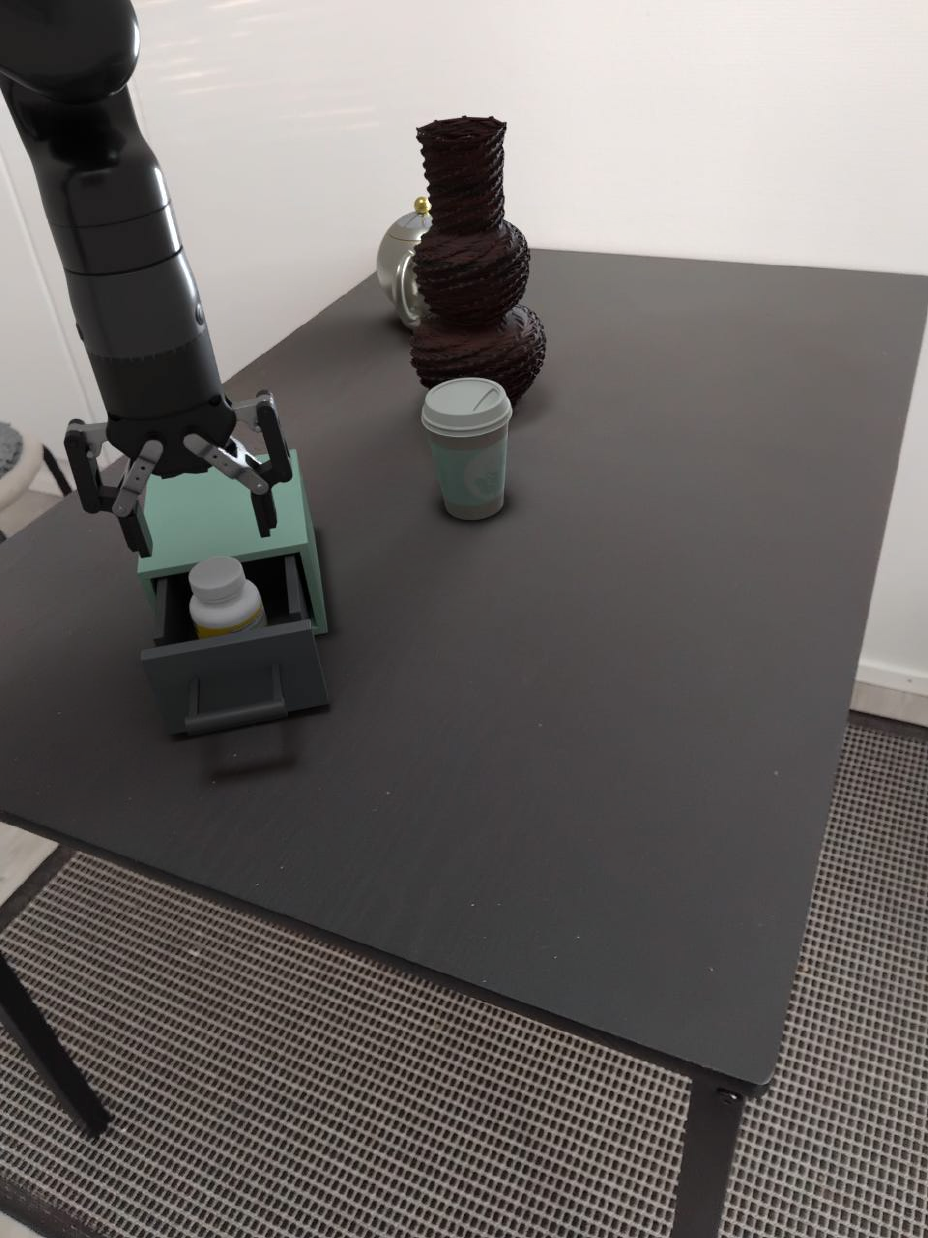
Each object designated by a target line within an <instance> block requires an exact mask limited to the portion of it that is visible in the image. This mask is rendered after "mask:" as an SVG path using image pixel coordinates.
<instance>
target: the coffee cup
mask: <svg viewBox="0 0 928 1238" xmlns="http://www.w3.org/2000/svg"><path fill="white" fill-rule="evenodd" d="M512 415H513V412H512V408H511V404H510V401H509V399H508V398H507V396H506V393H505V390H504V389H503V387H502V386H501V385H499V384H498V383H496V382H494V381H491V380H487V379H482V378H460V379H454V380H450V381H446V382H444V383H441V384H439V385H437V386H435V387H434V388H432V389H431V390H430V391H429V390H428V392H427V393H426V396H425V398H424V404H423V406H422V408H421V418H420V419H421V423H422V424H423V426H424V428H426V432H427V436H428V440H429V445H430V448H431V453H432V457H433V462H434V466H435V470H436V474H437V478H438V482H439V485H440V490H441V495H442V498H443V503H444V507H445V510H446V511H447V513H448V514H449V515H451V516H452V517H454V518H456V519H459V520H464V521H479V520H484V519H487V518H490V517H492V516H494V515H496V514H497V513H499V512H500V510H501V509H502V507H503V505H504V498H505V497H504V495H505V482H506V465H507V453H508V452H507V451H508V450H507V449H508V434H509V421H510V420H511V418H512Z"/></svg>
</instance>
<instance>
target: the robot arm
mask: <svg viewBox="0 0 928 1238" xmlns="http://www.w3.org/2000/svg"><path fill="white" fill-rule="evenodd" d="M140 53H141V31H140V25H139V21H138V16H137V13H136V10H135V8H134V5H133V3H132V0H0V92H1V94H2V97H3V100H4V103H5V104H6V107H7V109H8V111H9V114H10V116H11V118H12V121H13V123H14V125H15V128H16V131H17V133H18V135H19V137H20V139H21V143H22V144H23V146H24V149H25V151H26V152H27V155H28V158H29V160H30V163H31V166H32V170H33V172H34V176H35V179H36V180H35V181H36V184H37V188H38V191H39V196H40V200H41V204H42V208H43V211H44V215H45V217H46V220H47V224H48V226H49V229H50V232H51V235H52V238H53V241H54V244H55V247H56V250H57V254H58V256H59V260H60V262H61V265H62V268H63V273H64V278H65V281H66V286H67V293H68V297H69V302H70V305H71V310H72V312H73V315H74V319H75V328H76V330H77V333H78V336H79V339H80V341H82V343H83V345H84V348H85V352H86V355H87V357H88V360H89V363H90V367H91V370H92V373H93V375H94V379H95V382H96V385H97V388H98V391H99V393H100V397H101V399H102V402H103V405H104V408H105V411H106V414H107V421H106V422H95V423H86V422H85V421H84V420H83V419H81V418H77V417H76V418H72V419H70V420H69V422H68V423H67V427H66V431H65V433H64V439H63V447H64V451H65V453H66V457H67V460H68V464H69V467H70V470H71V474H72V477H73V480H74V484H75V486H76V490H77V493H78V494H77V495H78V496H79V501H80V503H81V507H82V509H83V511H84V512H86V513H87V514H90V515H96V514H98V513H100V512H104V513H105V512H106V513H111V514H113V515H114V516H115V517H116V518H117V520H118V523H119V525H120V528H121V531H122V535H123V538H124V540H125V543H126V545H127V548H128V549H129V550H130V551H131V552H132V553H137V552H138V555H139V554H140V557H141V558H147V557H152V550H153V541H152V537H151V534H150V531H149V528H148V525H147V522H146V519H145V516H144V509H143V508H142V504H141V501H140V499H138V498H139V496H140V495H141V494H142V493H143V491H144V489H145V488H146V486H147V481H148V479H149V477H150V475H151V474H153V475H156V476H161V478H162V479H168V478H174V477H176V476H179V475H181V474H183V473H189V474H200V473H206V472H208V469H209V468H211V467H213V466H214V467H215V468H217V469H218V470H219V471H221V472H222V473H223V474H225V475H226V476H227V477H229V478H230V479H232V480H234V479H236V480H237V481H239V482H240V483H241V484H243V485H244V486H245V487H247V488H248V489H249V490H250V493H251V501H252V505H253V509H254V513H255V517H256V521H257V525H258V529H259V533H260V537H261V538H265V537H271V534H270V529H274V528H276V526H277V511H276V507H275V503H274V498H273V494H272V490H271V489H272V487H273V486H274V485H276V484H277V483H279V482H281V483H286V482H289V481H290V480H291V479H292V476H293V474H292V465H291V456H290V453H289V450H290V449H289V446H288V442H287V440H286V436H285V432H284V428H283V424H282V421H281V418H280V414H279V411H278V410H279V409H278V408H277V403H276V401H275V397H274V394H273V393H272V391H270V390H269V389H260V390H258V392H256V394H255V398H250V399H245V400H240V401H235V402H233V401H232V400H231V399H230V398H229V397H228V396H227V394H226V392H225V391H224V388H223V384H222V380H221V376H220V372H219V367H218V363H217V359H216V356H215V352H214V349H213V344H212V339H211V335H210V332H209V328H208V327H209V326H208V323H207V319H206V316H205V312H204V311H205V310H204V307H203V304H202V300H201V296H200V292H199V288H198V284H197V281H196V278H195V274H194V272H193V270H192V268H191V265H190V263H189V260H188V257H187V255H186V251H185V248H184V245H183V240H182V236H181V232H180V229H179V225H178V219H177V216H176V213H175V209H174V205H173V200H172V197H171V193H170V189H169V187H168V186H169V185H168V183H167V179H166V177H165V174H164V171H163V168H162V165H161V164H160V161H159V159H158V157H157V155H156V154H155V152H154V151H153V149H152V148H151V146H150V145H149V143H148V141H147V140H146V138H145V137H144V135H143V133H142V131H141V128H140V125H139V123H138V120H137V115H136V111H135V107H134V103H133V100H132V96H131V93H130V90H129V86H128V82H129V81H130V79H131V78H132V76H134V75H133V74H134V72H135V70H136V68H137V65H138V63H139V58H140ZM237 422H243V423H245V424H246V425H247V426H248V428H249V430H250V431H251V432H253V433H257V434H258V433H261V434H262V438H263V441H264V445H265V448H266V452H267V454H269V458H270V460H268V461H266V462H264V463H262V462H260V461H259V460H258V459H256V458H255V457H254V456H255V455H253V454H252V453H250V452H249V451H248V450H247V449H246V447H245V445H243V444H242V442H240V440H237V439H236V438H235V437H234V436H233V435H232V434H233V432H234V430H235V428H236V427H237ZM105 442H108V443H109V444H110V445H111V446H112V447H114V448H115V449H116V450H117V451H119V452H120V453H122V454H123V455H124V456H126V457H127V458H128V460H127V462H126V464H125V468H124V470H123V473H122V474H121V477H120V479H119V481H118V483H117V485H116V486H111V485H110V486H109V485H104V481H103V478H102V474H101V471H100V467H99V463H98V460H97V458H98V457H99V456H100V455H101V453H102V447H103V444H105Z"/></svg>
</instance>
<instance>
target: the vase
mask: <svg viewBox="0 0 928 1238" xmlns="http://www.w3.org/2000/svg"><path fill="white" fill-rule="evenodd" d="M507 126H508V122H507V121H501V120H500V119H497V118H495V117H494V115H489V116H488V117H481V116H467V115H466V114H464V115H461V117H453V118H446V119H445V118H444V119H439V120H438V119H433V122H430V123H427V124H425V125H422V126H419V127H417V126H416V127H415V130H416V135H415V139H416V140H417V142H418V143H419V144H420V145H422V148H420V149H419V151H420V154H421V156H422V157H423V158H424V161H423V162H422V163H421V165H422V168H423V169H424V170H425V171H424V173H423V176H424V179H425V180H426V181H428V183H429V184H428V185H427V186H426V191H427V193H428V194H429V196H428V197H427V199H428V202H429V203H430V210H429V214H430V215H431V216H432V218H433V219H432V220H431V222H432V224H433V225H432V226H431V227H430V229H429V230H428V232H426V233H423V234H422V235H421V236H420V238H421V242H420V243H419V244H418V245H415V246H414V250H415V255H414V256H413V257H412V261H413V262H415V263H416V264H417V266H414V268H412V271H413V272H414V273H415V274H416V275H417V278H416V279H415V281H416V283H418V284H420V285H421V287H420V288H418V292H419V294H422V295H423V296H424V297H425V299H424V302H425V303H426V304H429V305H430V309H428V310H429V311H430V312H432V313H429V314H428V315H424V316H423V317H422V318H421V319H420V324H419V326H418V327H416V328H415V329H413V330H412V333H413V335H411V337H409V338H408V345H409V347H411V349H410V351H409V355H410V356H411V358H410V361H409V363H410V365H411V367H412V368H414V369H415V373H416V376H418V377H419V378H420V379H419V380H418V381H419V384H420V385H421V386H423V387H424V388H425V389H426V388H427V389H428V392H429V391H430V390H431V389H432V388H434V387H435V386H437V385H439V384H441V383H444V382H446V381H450V380H454V379H460V378H482V379H487V380H491V381H494V382H496V383H498V384H499V385H501V386H502V387H503V389H504V390H505V393H506V396H507V398H508V399H509V401H510V404H511V408H512V413H513V412H514V409H515V408H516V407H517V404H518V402H519V401H520V400H522V397H523V395H524V394H525V393H527V390H529V389H530V387H531V386H532V385H533V383H534V381H535V379H536V378H537V376H538V375H539V374H540V372H541V370H542V367H543V366H544V364H545V359H546V351H547V346H546V345H547V336H546V333H545V331H544V329H545V327H544V324H543V323H542V320H541V318H540V317H539V316H538V314H537V313H536V312H535V311H533V310H531V309H530V308H529V307H527V306H525V305H521V304H519V303H520V301H521V300H522V299H523V298H524V296H525V293H526V290H527V288H526V286H527V284H528V279H529V277H530V263H529V262H530V261H531V258H532V257H531V256H532V255H531V249H530V248H529V245H528V242H527V239H526V236H525V235H524V234H523V232H522V231H521V230H520V229H519V228H518V227H517V226H516V225H515V224H513V223H512V222H509V221H508V220H506V219H505V215H506V214H505V213H506V211H505V203H506V196H505V194H504V193H505V191H504V185H503V184H504V177H505V174H504V167H505V159H506V157H505V156H506V152H505V149H504V146H503V145H504V142H505V137H506V135H505V134H506V133H507V131H508V130H507V129H508V127H507ZM439 228H440V229H439ZM428 317H429V318H428Z"/></svg>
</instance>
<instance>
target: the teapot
mask: <svg viewBox="0 0 928 1238" xmlns="http://www.w3.org/2000/svg"><path fill="white" fill-rule="evenodd" d="M413 208H414V210H413V211H411V212H408V213H405V214H404V215H402V216H401V217H399V218H398V219H396V220H395V221H394V222H393V223H392V224H390V226H389V227H388V229H387V230H386V231H385V232H384V234H383V236H382V238H381V240H380V242H379V245H378V249H377V254H376V274H377V279H378V282H379V284H380V287H381V290H382V291H383V293H384V295H385V296H386V297H387V299H388V300H389V301H390V303H391V304H392V305H393V306H394V307H395V311H396V312H397V314H398V315H397V316H398V317H399V318H400V319H401V322H402V324H403V326H405V327H406V328H407V329H408V330H411V331H413V329H415V328H416V327H418V326H419V324H420V319H421V318H422V317H423V316H424V315H428V314H429V313H432V312H430V311H429V310H428V309H430V305H429V304H426V303H425V302H424V299H425V297H424V296H423V295H422V294H419V292H418V288H420V287H421V285H420V284H418V283H416V281H415V279H416V278H417V275H416V274H415V273H414V272H413V271H412V268H414V266H417V264H416V263H415V262H413V261H412V257H413V256H414V255H415V250H414V246H415V245H418V244H419V243H420V242H421V238H420V236H421V235H422V234H423V233H426V232H428V230H429V229H430V227H431V226H432V225H433V224H432V222H431V220H432V219H433V218H432V216H431V215H430V214H429V210H430V209H431V204H430V203H429V202H428V197H425V196H418V197H417V198H416V199H415V200H414V203H413ZM439 229H440V228H439ZM428 318H429V317H428Z"/></svg>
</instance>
